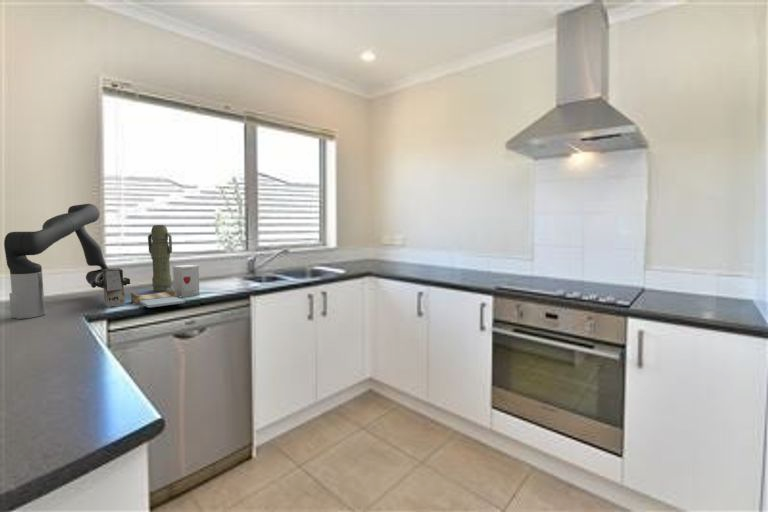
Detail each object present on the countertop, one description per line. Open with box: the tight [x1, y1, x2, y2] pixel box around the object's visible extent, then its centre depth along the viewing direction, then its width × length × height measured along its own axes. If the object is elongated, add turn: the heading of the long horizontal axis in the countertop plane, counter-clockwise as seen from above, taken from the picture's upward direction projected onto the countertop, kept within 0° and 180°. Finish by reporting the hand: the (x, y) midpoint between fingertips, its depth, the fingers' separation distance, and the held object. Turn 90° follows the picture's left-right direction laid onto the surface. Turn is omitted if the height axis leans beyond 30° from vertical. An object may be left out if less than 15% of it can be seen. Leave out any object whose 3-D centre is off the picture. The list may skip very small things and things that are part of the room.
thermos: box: [147, 224, 173, 292], centre depth 209 cm, size 9×12×35 cm
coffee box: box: [102, 267, 125, 308], centre depth 174 cm, size 9×6×16 cm
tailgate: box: [140, 296, 186, 309], centre depth 172 cm, size 14×1×16 cm
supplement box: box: [172, 264, 200, 298], centre depth 197 cm, size 9×9×15 cm
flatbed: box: [130, 288, 178, 306], centre depth 182 cm, size 16×12×4 cm
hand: (114, 284), depth 172 cm, fingers open, 8 cm apart
